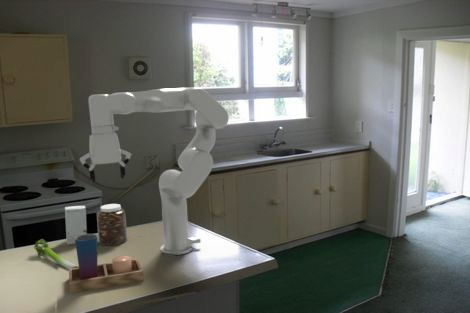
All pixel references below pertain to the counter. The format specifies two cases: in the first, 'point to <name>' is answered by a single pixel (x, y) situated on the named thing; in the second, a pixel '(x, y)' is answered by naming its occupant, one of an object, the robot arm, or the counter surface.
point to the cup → (87, 255)
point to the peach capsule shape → (122, 265)
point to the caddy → (104, 277)
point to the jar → (111, 225)
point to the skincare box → (75, 222)
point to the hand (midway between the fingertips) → (108, 179)
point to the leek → (52, 255)
